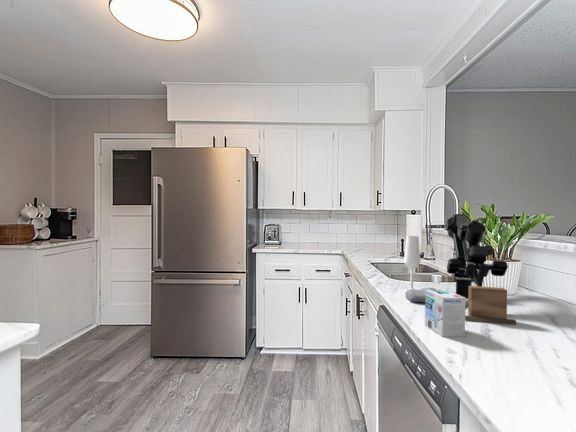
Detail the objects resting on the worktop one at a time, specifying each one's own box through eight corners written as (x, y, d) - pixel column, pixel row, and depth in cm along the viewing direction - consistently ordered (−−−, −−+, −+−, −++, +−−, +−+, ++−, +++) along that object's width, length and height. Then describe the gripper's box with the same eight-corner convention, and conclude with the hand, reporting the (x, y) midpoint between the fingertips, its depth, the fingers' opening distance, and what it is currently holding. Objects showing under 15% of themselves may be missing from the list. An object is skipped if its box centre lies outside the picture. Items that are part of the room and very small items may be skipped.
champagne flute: (417, 294, 145) (418, 236, 144) (401, 292, 148) (402, 236, 148) (421, 292, 150) (422, 236, 150) (405, 289, 154) (406, 235, 154)
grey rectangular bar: (464, 319, 111) (464, 315, 111) (514, 323, 108) (514, 319, 108) (465, 320, 110) (465, 316, 110) (516, 324, 106) (516, 320, 106)
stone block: (444, 307, 129) (435, 296, 139) (444, 295, 128) (435, 285, 138) (410, 308, 130) (404, 297, 140) (410, 296, 129) (404, 286, 139)
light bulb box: (423, 324, 105) (424, 289, 105) (445, 324, 106) (445, 289, 106) (442, 337, 94) (443, 297, 94) (466, 337, 95) (466, 297, 95)
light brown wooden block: (468, 316, 115) (468, 285, 115) (502, 318, 113) (502, 287, 112) (471, 319, 111) (471, 288, 111) (506, 322, 109) (507, 290, 109)
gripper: (448, 236, 127) (454, 271, 117) (506, 238, 122) (518, 274, 112) (444, 255, 135) (449, 290, 124) (498, 257, 130) (508, 294, 119)
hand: (480, 287), depth 120 cm, fingers closed
